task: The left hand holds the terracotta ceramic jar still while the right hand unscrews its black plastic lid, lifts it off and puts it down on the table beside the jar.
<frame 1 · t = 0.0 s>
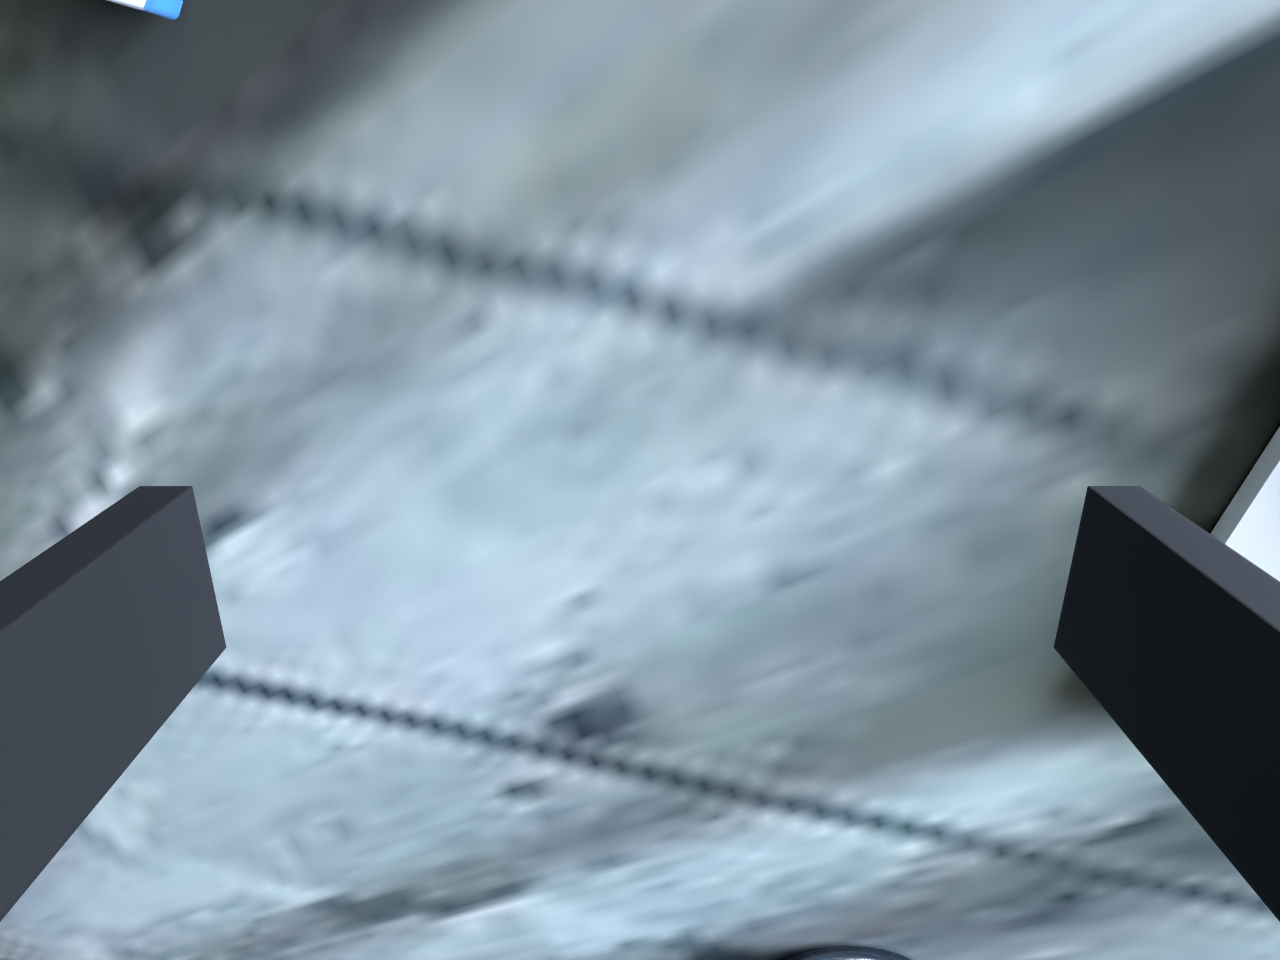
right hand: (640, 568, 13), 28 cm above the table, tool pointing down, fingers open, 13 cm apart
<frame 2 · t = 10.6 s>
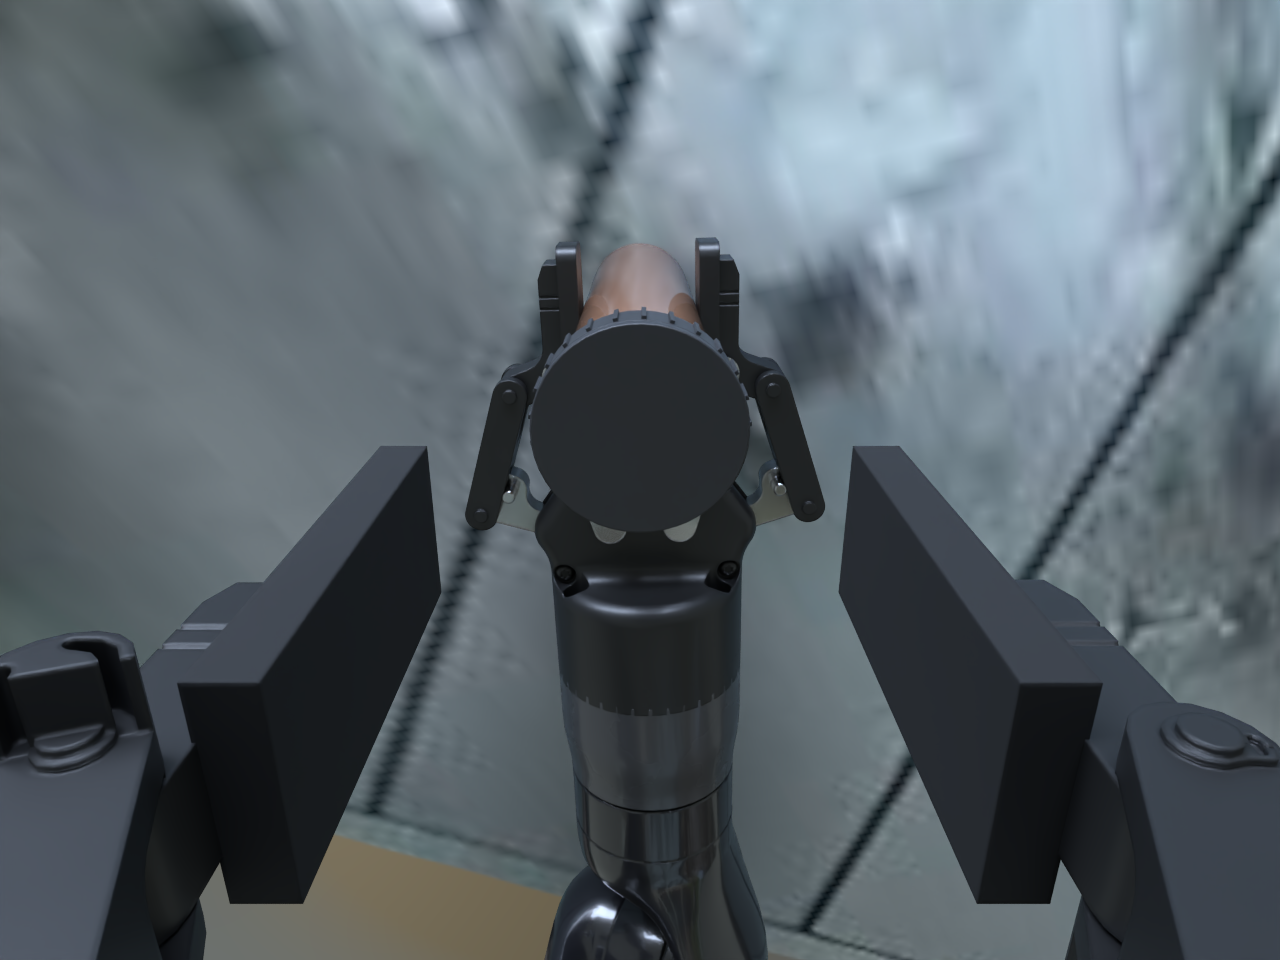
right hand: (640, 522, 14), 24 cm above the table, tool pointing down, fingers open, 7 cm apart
left hand: (636, 244, 29), fingers closed on jar, 4 cm apart
jar: (639, 293, 36), on the table, touching left hand
lid: (639, 428, 19), point 19 cm above the table, screwed on, not yet turned
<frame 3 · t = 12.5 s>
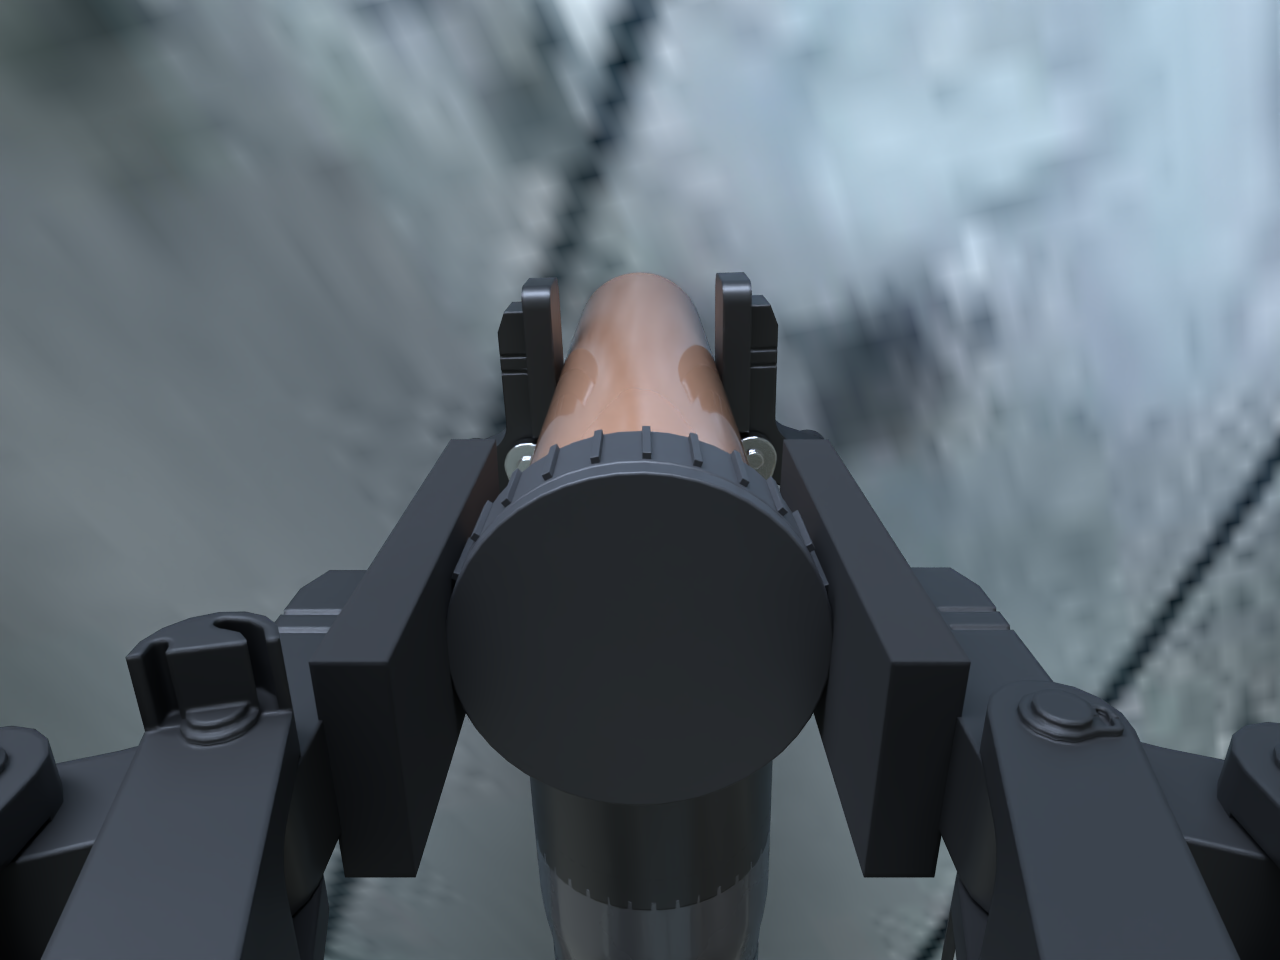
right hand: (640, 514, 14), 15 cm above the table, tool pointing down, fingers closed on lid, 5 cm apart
left hand: (635, 282, 21), fingers closed on jar, 4 cm apart
jar: (639, 335, 28), on the table, touching left hand
lid: (639, 638, 11), point 19 cm above the table, screwed on, not yet turned, touching right hand
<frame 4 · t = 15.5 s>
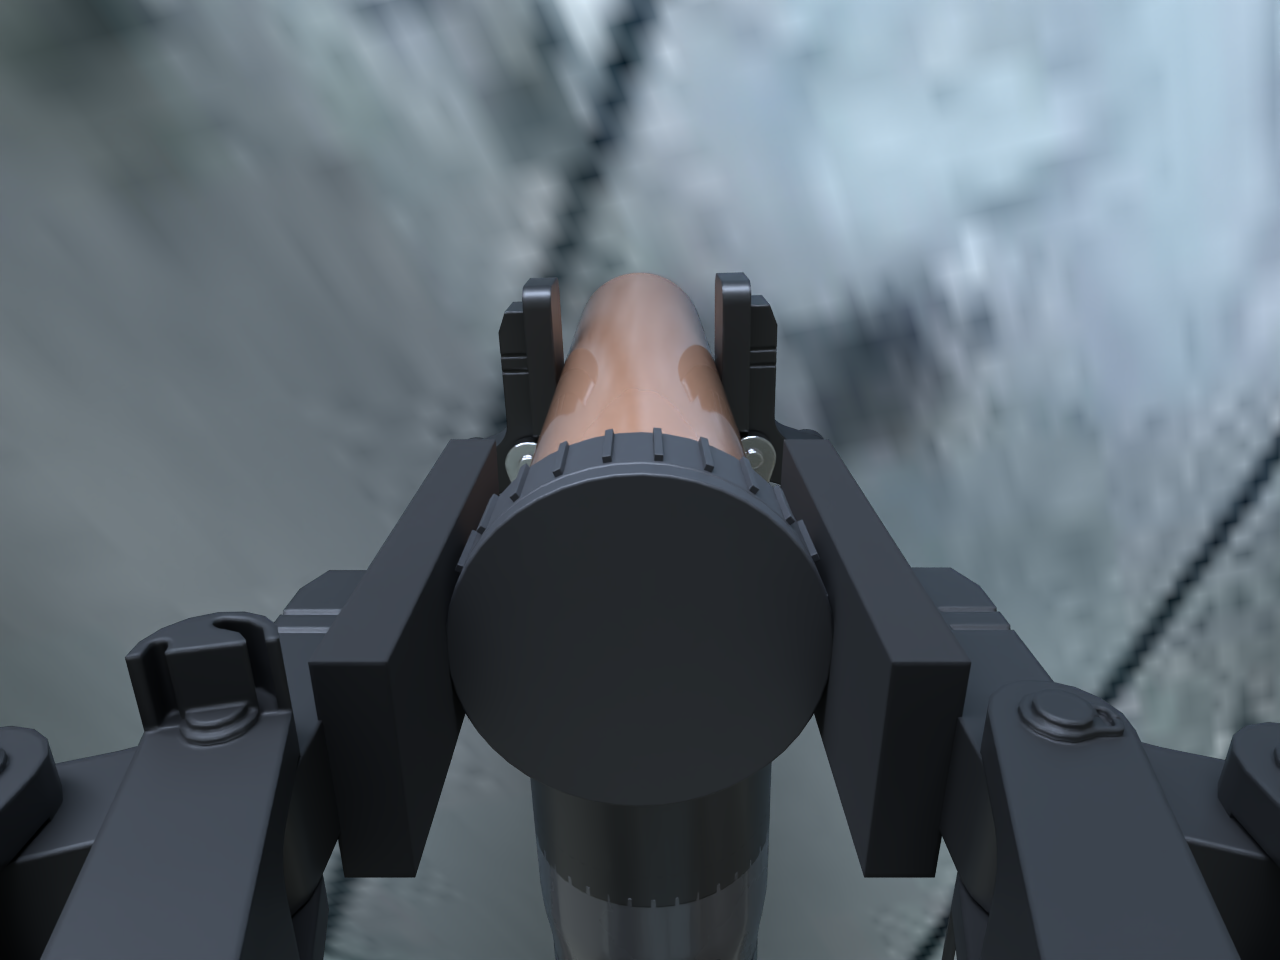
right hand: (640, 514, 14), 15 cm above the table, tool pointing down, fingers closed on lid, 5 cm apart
left hand: (635, 282, 21), fingers closed on jar, 4 cm apart
jar: (639, 335, 28), on the table, touching left hand
lid: (639, 639, 11), point 19 cm above the table, turned 83° so far, risen 0.1 cm, still on its thread, touching right hand
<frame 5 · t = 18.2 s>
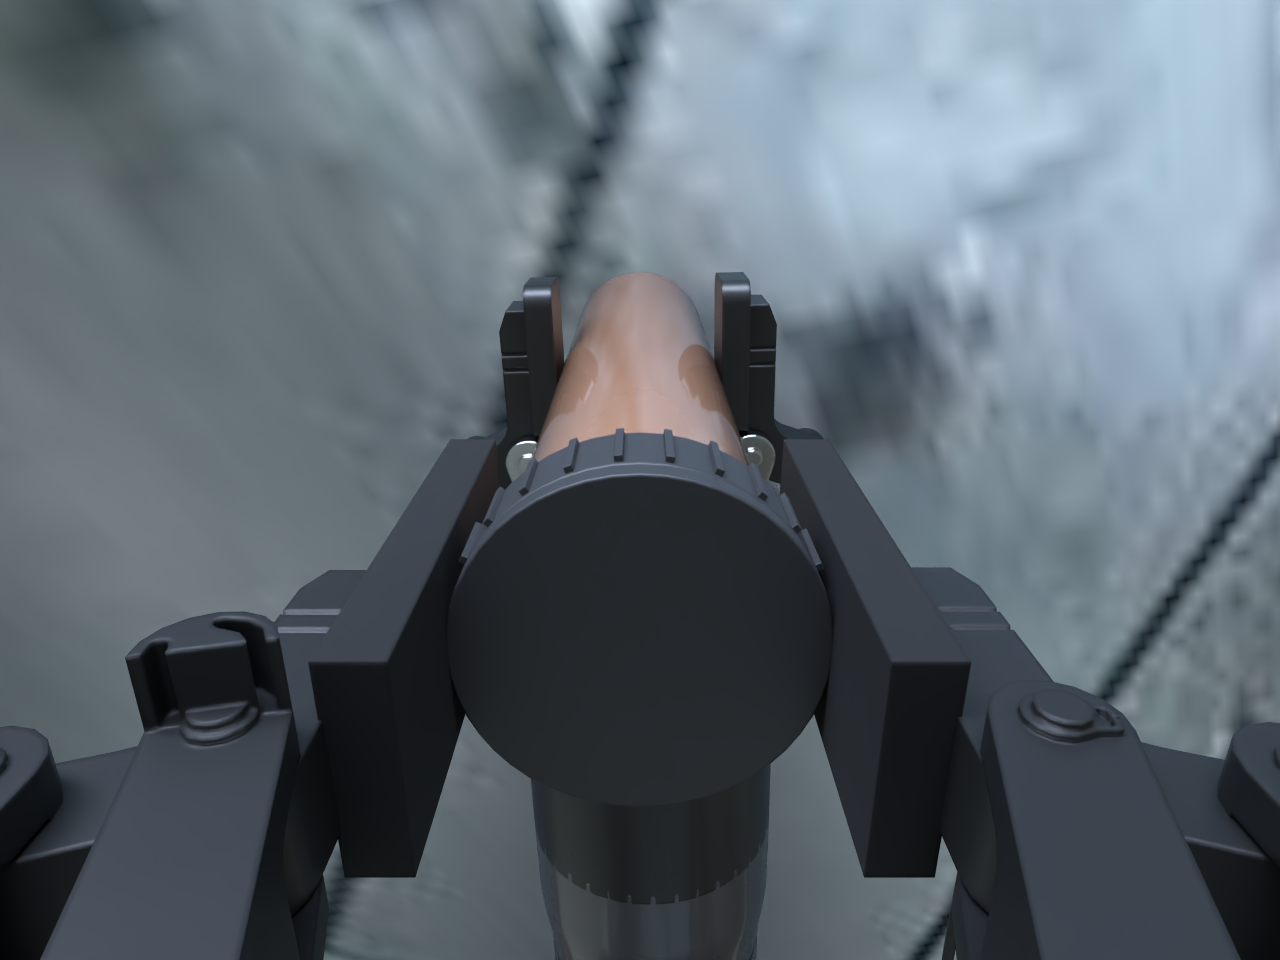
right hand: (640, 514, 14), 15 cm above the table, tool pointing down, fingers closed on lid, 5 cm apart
left hand: (635, 282, 21), fingers closed on jar, 4 cm apart
jar: (639, 334, 28), on the table, touching left hand
lid: (639, 639, 11), point 19 cm above the table, turned 166° so far, risen 0.2 cm, still on its thread, touching right hand
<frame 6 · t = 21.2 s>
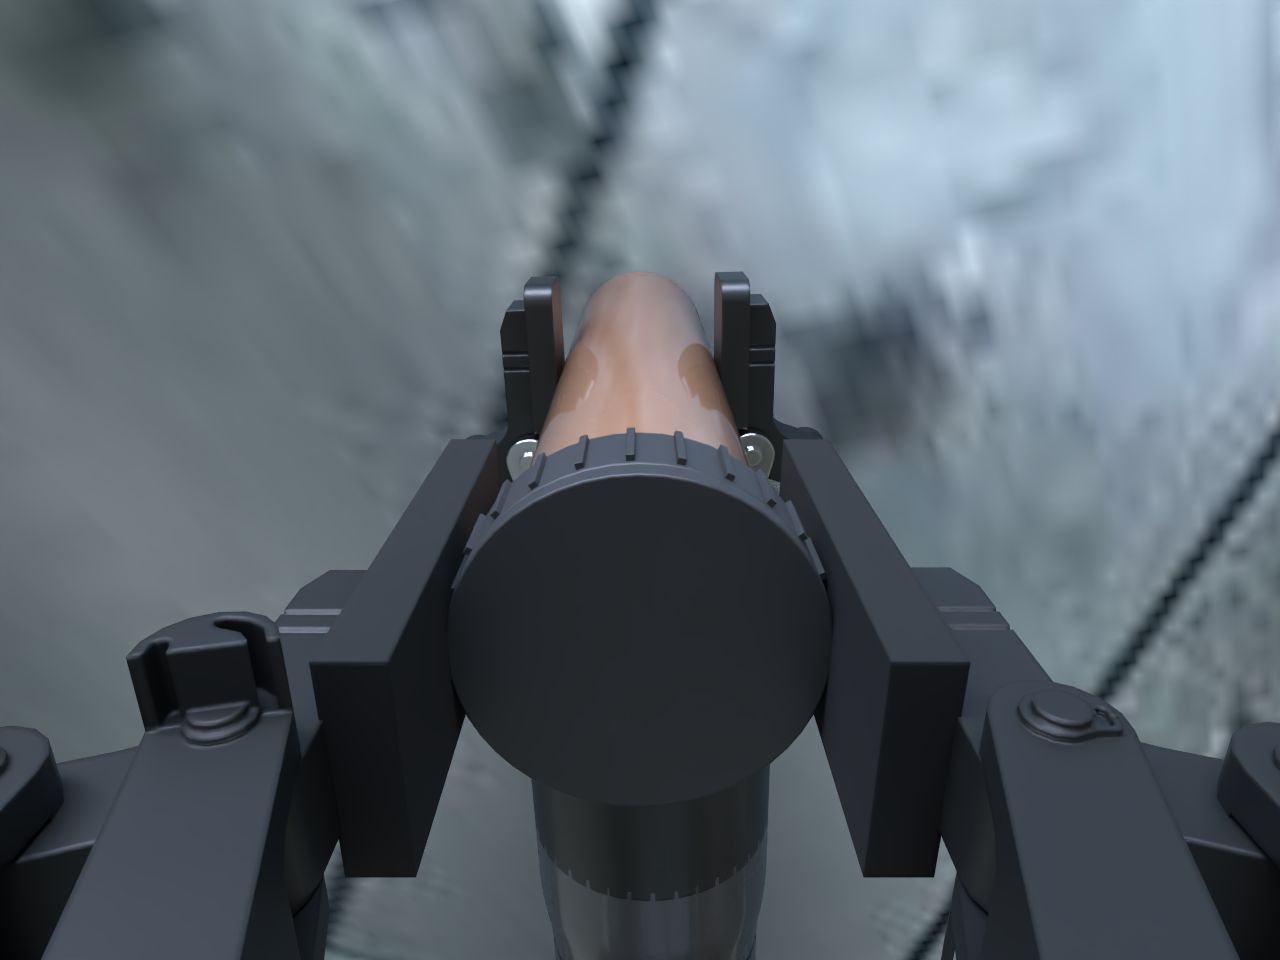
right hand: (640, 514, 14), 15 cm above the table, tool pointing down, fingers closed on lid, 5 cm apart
left hand: (635, 281, 21), fingers closed on jar, 4 cm apart
jar: (639, 334, 28), on the table, touching left hand
lid: (639, 639, 11), point 19 cm above the table, turned 250° so far, risen 0.3 cm, still on its thread, touching right hand
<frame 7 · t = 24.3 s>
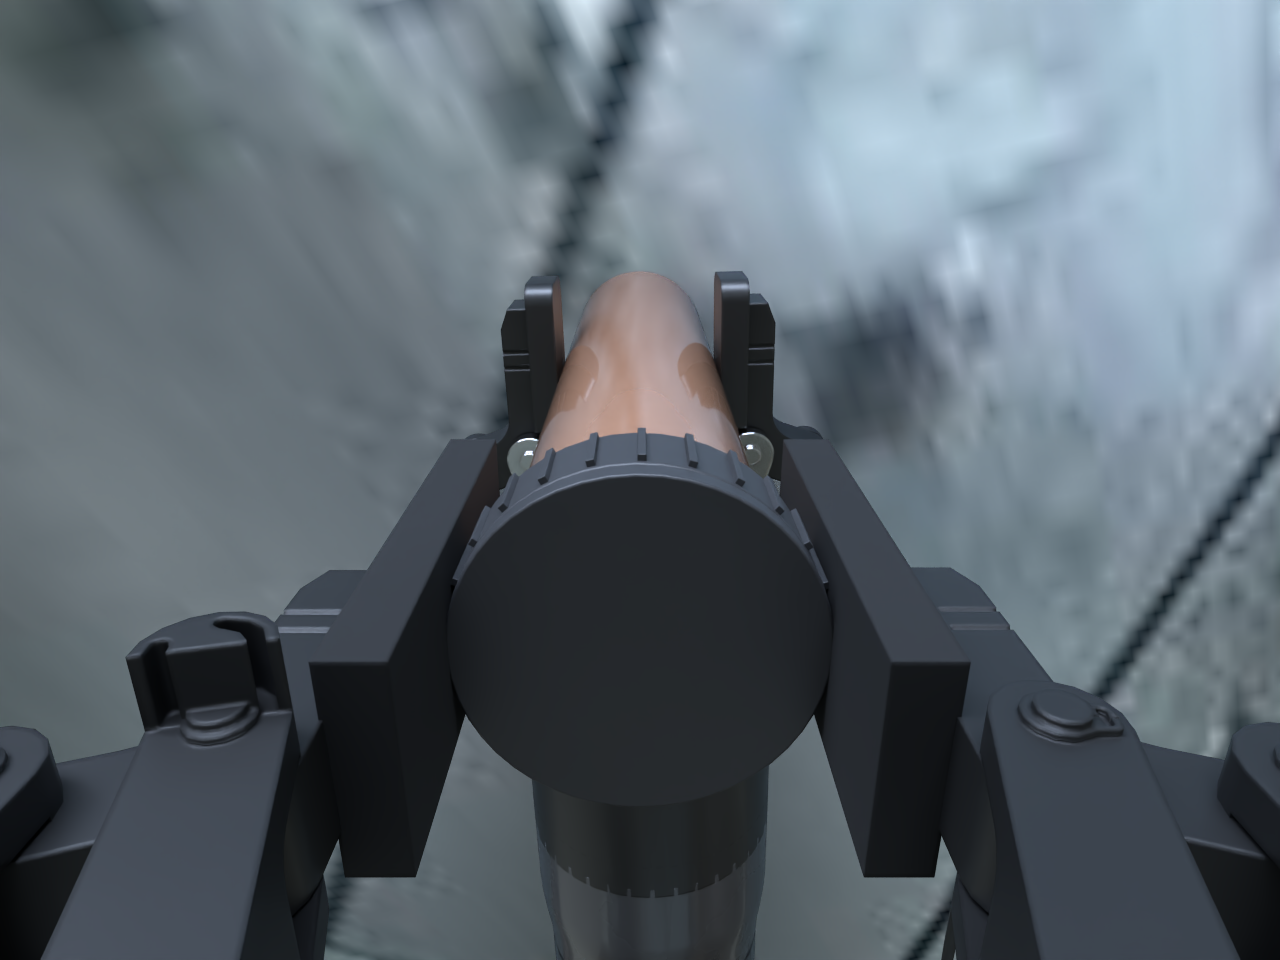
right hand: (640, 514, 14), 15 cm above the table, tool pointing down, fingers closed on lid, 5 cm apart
left hand: (635, 281, 21), fingers closed on jar, 4 cm apart
jar: (639, 333, 29), on the table, touching left hand
lid: (639, 640, 11), point 19 cm above the table, turned 333° so far, risen 0.5 cm, still on its thread, touching right hand
when the right hand's fingers open (0 cm above the table, at t = 35.4 s): lid drops 3 cm, point 1 cm above the table.
when the left hand's fingers open (7 cm above the table, at t = 35.9 s): jar stays where it is, on the table.
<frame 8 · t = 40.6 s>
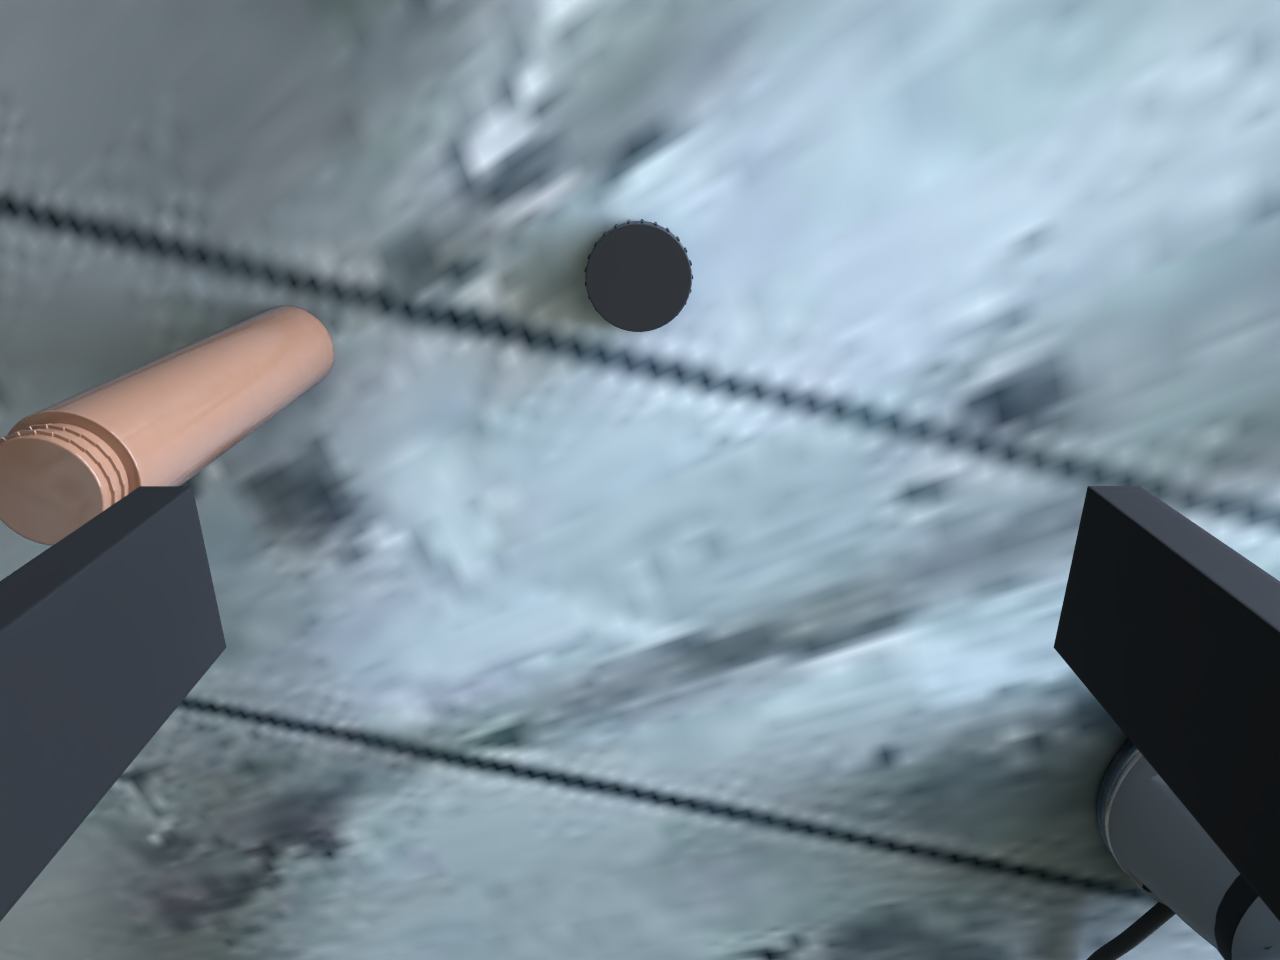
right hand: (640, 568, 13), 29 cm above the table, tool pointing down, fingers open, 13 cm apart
jar: (291, 348, 41), on the table
lid: (638, 278, 39), point 1 cm above the table, off its thread
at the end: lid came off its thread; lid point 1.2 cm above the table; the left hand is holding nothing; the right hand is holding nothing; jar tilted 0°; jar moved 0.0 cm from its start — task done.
